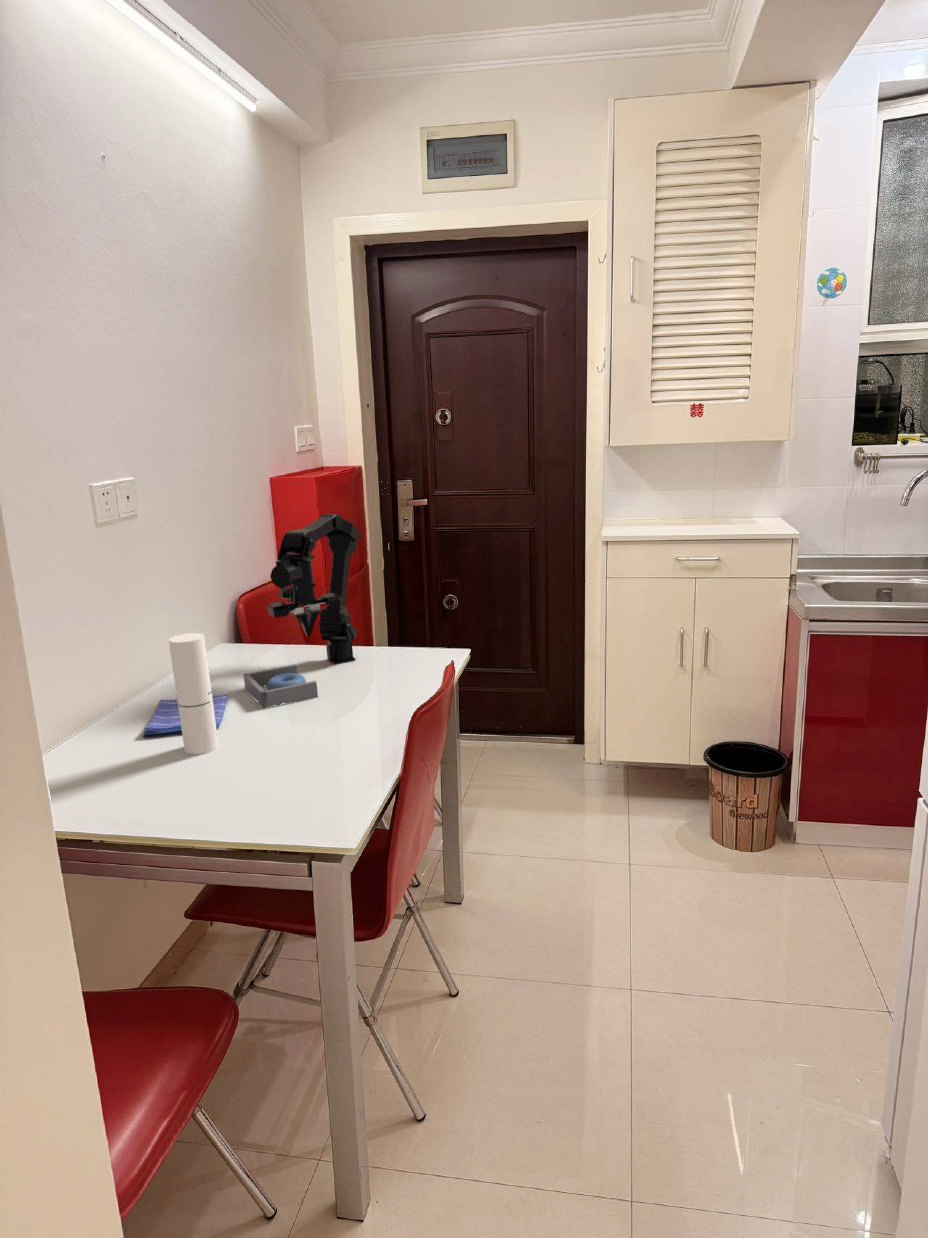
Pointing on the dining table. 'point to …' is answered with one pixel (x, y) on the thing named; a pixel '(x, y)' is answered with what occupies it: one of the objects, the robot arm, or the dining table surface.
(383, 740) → the dining table surface
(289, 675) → the doughnut
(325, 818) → the dining table surface
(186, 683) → the cylindrical container
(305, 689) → the box
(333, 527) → the robot arm
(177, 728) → the dish towel
